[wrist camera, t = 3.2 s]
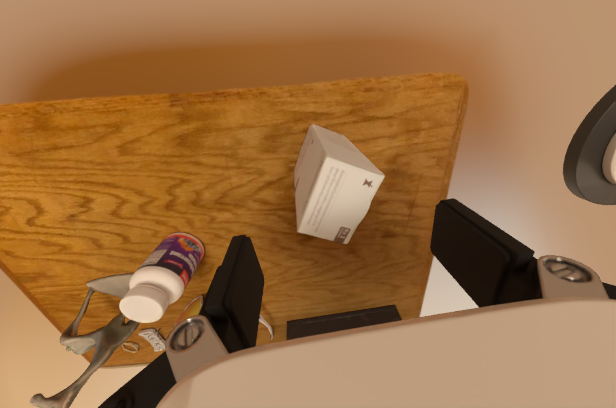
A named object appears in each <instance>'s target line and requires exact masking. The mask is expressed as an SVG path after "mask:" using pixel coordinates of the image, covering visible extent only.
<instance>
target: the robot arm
mask: <svg viewBox="0 0 616 408" xmlns="http://www.w3.org/2000/svg"><path fill="white" fill-rule="evenodd" d="M602 168H603V174H604V175H605V177H606V179H607V180H608V181H609V182H611V183H613V184H615V185H616V132H615V134H614V135H613V137H612V138H611V140H610V142H609V144H608V146H607V148H606V150H605V153H604V156H603V162H602ZM430 248H431V252H432V253H433V255H434V256H435V257H436V258H437V259H438V260H439V262H440V263H441V264H442V265H443V266H444V267H445V269H446V270H447V271H448V272H449V273H450V274H451V275H452V276H453V278H454V279H455V280H456V281H457V282H458V283H459V285H460V286H461V287H462V288H463V289H464V290H465V292H466V293H467V294H468V295H469V296H470V297H471V298H472V300H473V301H474V302H475V303H476V304H477V305H478V306H479V308H474V309H468V310H462V311H455V312H449V313H443V314H437V315H431V316H425V317H419V318H413V319H407V320H401V321H395V322H389V323H383V324H377V325H371V326H365V327H360V328H354V329H348V330H342V331H337V332H331V333H325V334H319V335H314V336H308V337H302V338H296V339H291V340H286V341H281V342H276V343H270V344H265V345H260V346H256V339H257V331H258V324H259V317H260V309H261V302H262V295H263V287H264V276H263V273H262V270H261V267H260V264H259V261H258V258H257V256H256V253H255V250H254V247H253V244H252V241H251V239H250V237H246V235H240V236H234V237H233V238H232V240H231V242H230V245H229V248H228V250H227V253H226V255H225V258H224V260H223V263H222V265H221V266H219V267H218V268H217V270H216V273H215V275H214V278H213V280H212V282H211V285H210V287H209V290H208V292H207V295H206V297H205V299H204V302H203V304H202V307H201V309H200V312H199V314H198V315H194V316H191V317H188V318H186V319H185V320H183V321H181V322H180V323H179V324H178V325H176V326H175V327H174V329H173V330H172V331H171V332H170V334H169V336H168V337H167V339H166V343H165V352H164V353H162V354H161V355H160V356H159V357H158V358H156V359H155V360H154V361H153V362H151V363H150V364H149V365H148V366H147V367H146V368H144V369H143V370H142V371H141V372H139V373H138V374H137V375H136V376H135V377H133V378H132V379H131V380H130V381H128V382H127V383H126V384H125V385H124V386H122V387H121V388H120V389H119V390H118V391H117V392H115V393H114V394H113V395H111V396H110V397H109V398H108V399H107V400H106V401H104V402H103V404H101V405H100V406H99V407H98V408H616V286H614V285H610V284H607V283H603V282H601V280H600V277H599V276H598V275H597V273H596V272H595V271H593V270H592V269H591V268H590V267H588V266H586V265H584V264H582V263H580V262H578V261H575V260H572V259H569V258H565V257H562V256H554V255H546V256H542V257H540V258H539V259H538V260H537V259H536V258H534V257H533V254H534V251H533V250H531V249H530V248H528V247H527V246H525V245H524V244H522V243H521V242H519V241H518V240H516V239H515V238H513V237H512V236H510V235H509V234H507V233H505V232H504V231H503V230H501V229H500V228H498V227H497V226H495V225H494V224H492V223H491V222H489V221H488V220H486V219H485V218H483V217H482V216H480V215H478V214H477V213H475V212H474V211H472V210H471V209H469V208H468V207H466V206H465V205H463V204H462V203H460V202H459V201H457V200H456V199H447V200H441V201H440V202H439V204H437V205H436V209H435V216H434V224H433V231H432V238H431V246H430ZM255 346H256V347H255Z"/></svg>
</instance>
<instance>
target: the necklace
mask: <svg viewBox="0 0 616 408" xmlns="http://www.w3.org/2000/svg"><path fill="white" fill-rule="evenodd" d="M160 329H161V328H160ZM160 329H159V330H160ZM159 330H158V332H155V331H156V330H155V329H146V330H141V331H140V333H139V334H138V335H140V336H143V338H145V339H146V340H148V341H149V342H150V343H151V344H152V346H153V348H155V349H154V350H155V352H158V351H161V350H165V343H166V341H165V340H164V339H163V338H161V336H160V335H159Z"/></svg>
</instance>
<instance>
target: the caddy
mask: <svg viewBox="0 0 616 408" xmlns="http://www.w3.org/2000/svg"><path fill="white" fill-rule="evenodd" d="M401 320H402V319H401V317H400V314H399V312H398V310H397V308H396V306H395V305H391V306H385V307H378V308H372V309H365V310H359V311H352V312H346V313H339V314H333V315H326V316H320V317H313V318H307V319H300V320H294V321H288V322H287V340H291V339H296V338H302V337H308V336H314V335H319V334H325V333H331V332H337V331H342V330H348V329H354V328H360V327H365V326H371V325H377V324H383V323H389V322H395V321H401Z"/></svg>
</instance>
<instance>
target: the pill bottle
mask: <svg viewBox="0 0 616 408" xmlns="http://www.w3.org/2000/svg"><path fill="white" fill-rule="evenodd" d="M203 255H204V247H203V245H202V243H201V242H200V241H199V240H198V239H197V238H196V237H194V236H193V235H190V234H187V233H181V232H180V233H173V234H171V235H169V236H167V237H166V238H165V239H164V240H163V241H162V242H161V243H160V245H159V246H158V247H157V248H156V249H155V250H154V251H153V252H152V254H151V255H150V256H149V257H148V258H147V259H146V260H145V262H144V263H143V264H142V265H141V266H140V267H139V268H138V269H137V271H136V272H135V273H134V274H133V275H132V277H131V279H130V283H129V286H130V290H129V291H128V293H127V294H126V295H125V296H124V298H123V299H122V300H121V302H120V304H119V308H120V311H121V312H122V314H123V315H125V316H126V317H127V318H129V319H131V320H134V321H137V322H142V323H150V322H155V321H157V320H159V319H160V318H161V317H162V316H163V314H164V312H165V311H166V309H167V308H168V305H169V304H172V303H174V302H175V301H177V300H178V299H179V298H180V297H181V295H182V294H183V292H184V290H185V288H186V286H187V285H188V283H189V281H190V279H191V277H192V276H193V274H194V272H195V270H196V268H197V267H198V265H199V263H200V261H201V260H202V258H203Z"/></svg>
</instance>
